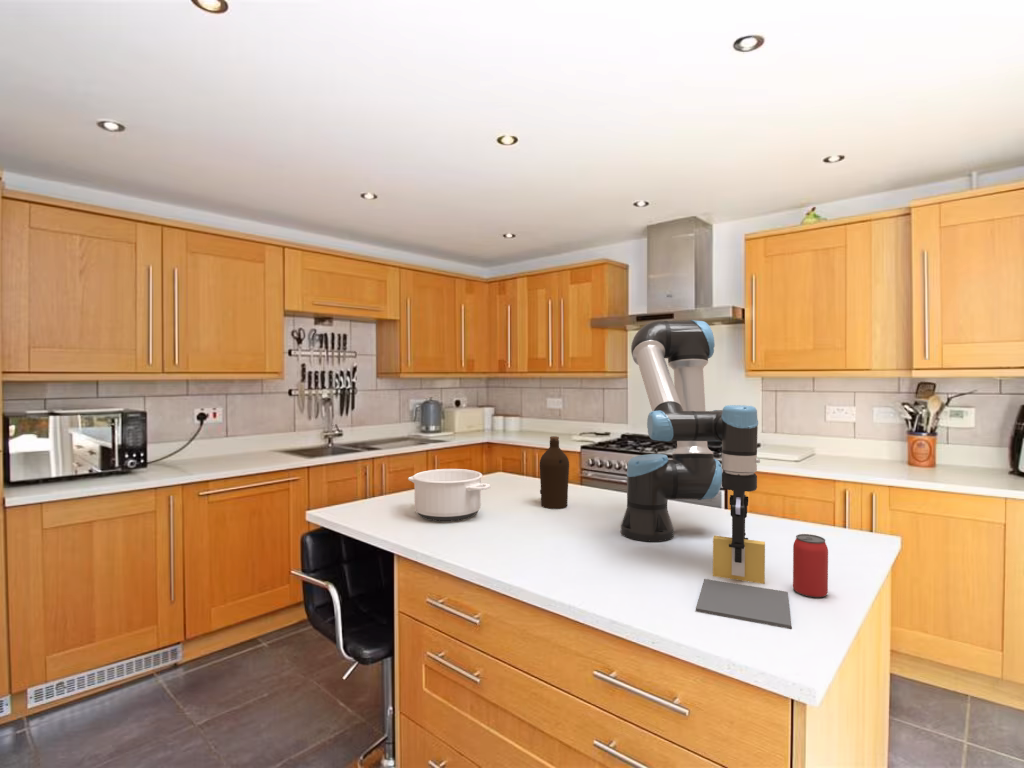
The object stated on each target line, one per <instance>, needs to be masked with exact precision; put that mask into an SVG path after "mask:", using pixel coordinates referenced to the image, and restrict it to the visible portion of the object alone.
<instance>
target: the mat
mask: <svg viewBox="0 0 1024 768" xmlns="http://www.w3.org/2000/svg"><path fill="white" fill-rule="evenodd" d="M695 612H698V613H705V614H710V615H714V616H720V617H724V618H729V619H737V620H741V621H748V622H754V623H759V624H764V625H769V626H774V627H780V628H785V629H791V630H793V629H792V618H791V609H790V599H789V591H785V590H779V589H773V588H766V587H760V586H755V585H754V586H753V585H746V584H742V583H741V584H740V583H735V582H734V583H733V582H728V581H723V580H722V581H720V580H717V579H716V580H715V579H710V578H709V579H708V578H704V579H703V582H702V585H701V589H700V592H699V595H698V599H697V603H696V605H695Z"/></svg>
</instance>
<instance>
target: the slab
mask: <svg viewBox="0 0 1024 768" xmlns="http://www.w3.org/2000/svg"><path fill="white" fill-rule="evenodd" d="M731 543H732V536H731V537H730V536H729V537H728V536H723V535H713V537H712V577H716V578H722V579H729V578H730V579H731V580H735V579H736V581H742V580H743V581H744V582H748V581H749V583H755V584H762V585H765V581H766V578H765V576H766V573H765V572H766V571H765V570H766V541H763V540H754V539H748V540H747V539H744V545H745V577H742V576H736V575H732V547H729V544H731ZM730 579H729V580H730ZM737 579H738V580H737ZM743 581H742V582H743Z"/></svg>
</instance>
